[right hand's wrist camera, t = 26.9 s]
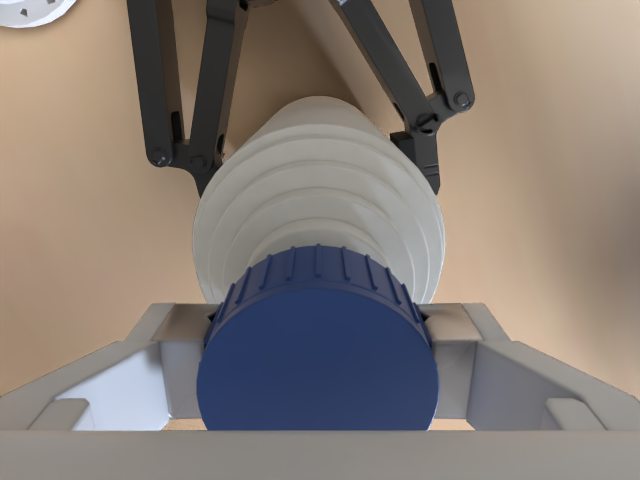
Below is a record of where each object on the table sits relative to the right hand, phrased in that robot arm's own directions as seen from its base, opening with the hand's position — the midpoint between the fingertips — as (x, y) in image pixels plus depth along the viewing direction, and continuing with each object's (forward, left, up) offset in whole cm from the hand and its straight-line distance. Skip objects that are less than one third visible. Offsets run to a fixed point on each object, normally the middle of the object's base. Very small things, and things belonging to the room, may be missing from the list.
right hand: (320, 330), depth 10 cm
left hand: (0, -5, -14) cm, 15 cm away
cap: (0, 0, +2) cm, 2 cm away
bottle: (0, 0, -21) cm, 21 cm away
